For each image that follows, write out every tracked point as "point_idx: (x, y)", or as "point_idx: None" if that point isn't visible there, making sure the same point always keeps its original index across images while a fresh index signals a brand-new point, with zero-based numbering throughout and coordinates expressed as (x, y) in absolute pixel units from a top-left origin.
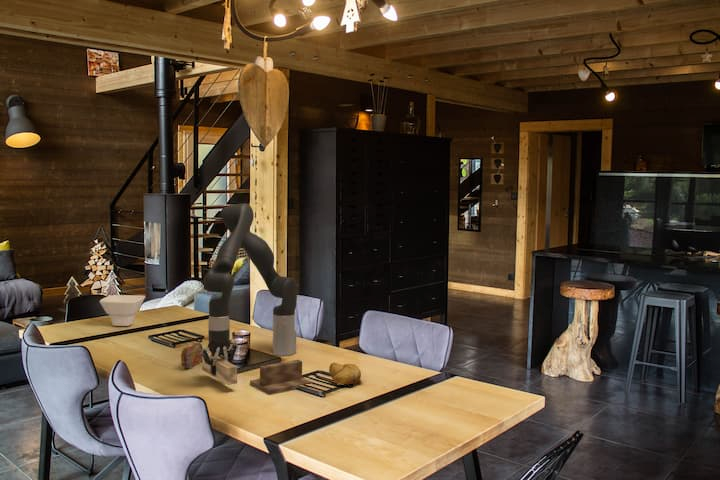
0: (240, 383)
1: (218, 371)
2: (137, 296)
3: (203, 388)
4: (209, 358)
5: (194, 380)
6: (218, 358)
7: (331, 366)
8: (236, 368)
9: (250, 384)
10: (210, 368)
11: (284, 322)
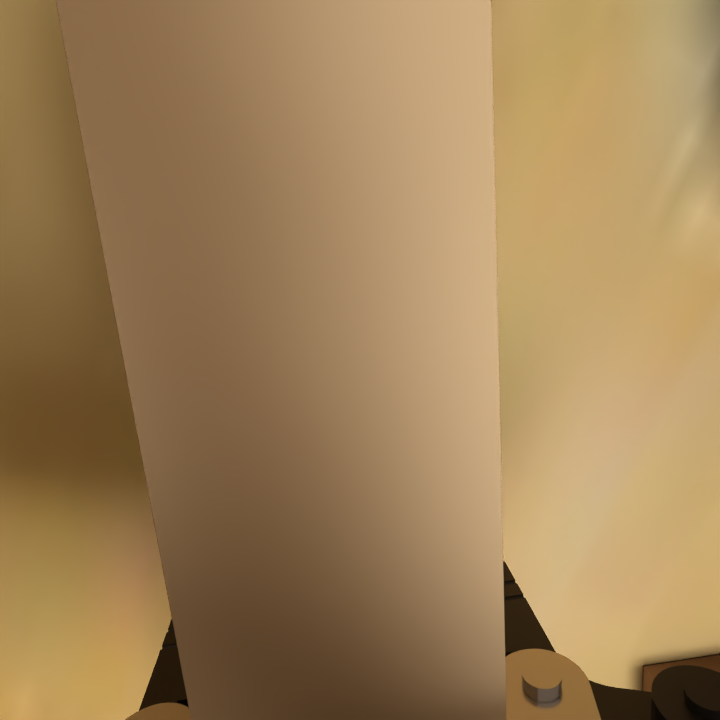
0: (575, 583)
1: None
2: None
3: (90, 589)
4: (158, 518)
5: (47, 176)
6: (419, 680)
7: None
8: None
9: (645, 683)
10: (155, 666)
11: None
